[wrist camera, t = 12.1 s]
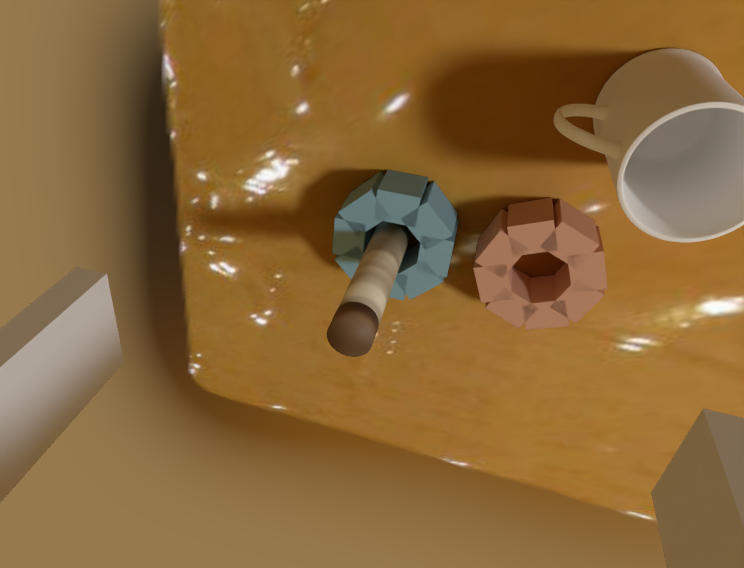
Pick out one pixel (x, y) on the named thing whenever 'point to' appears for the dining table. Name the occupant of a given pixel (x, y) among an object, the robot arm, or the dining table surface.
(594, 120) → the mug
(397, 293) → the bead
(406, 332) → the dining table surface
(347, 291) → the wooden dowel handle
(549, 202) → the bead terracotta
